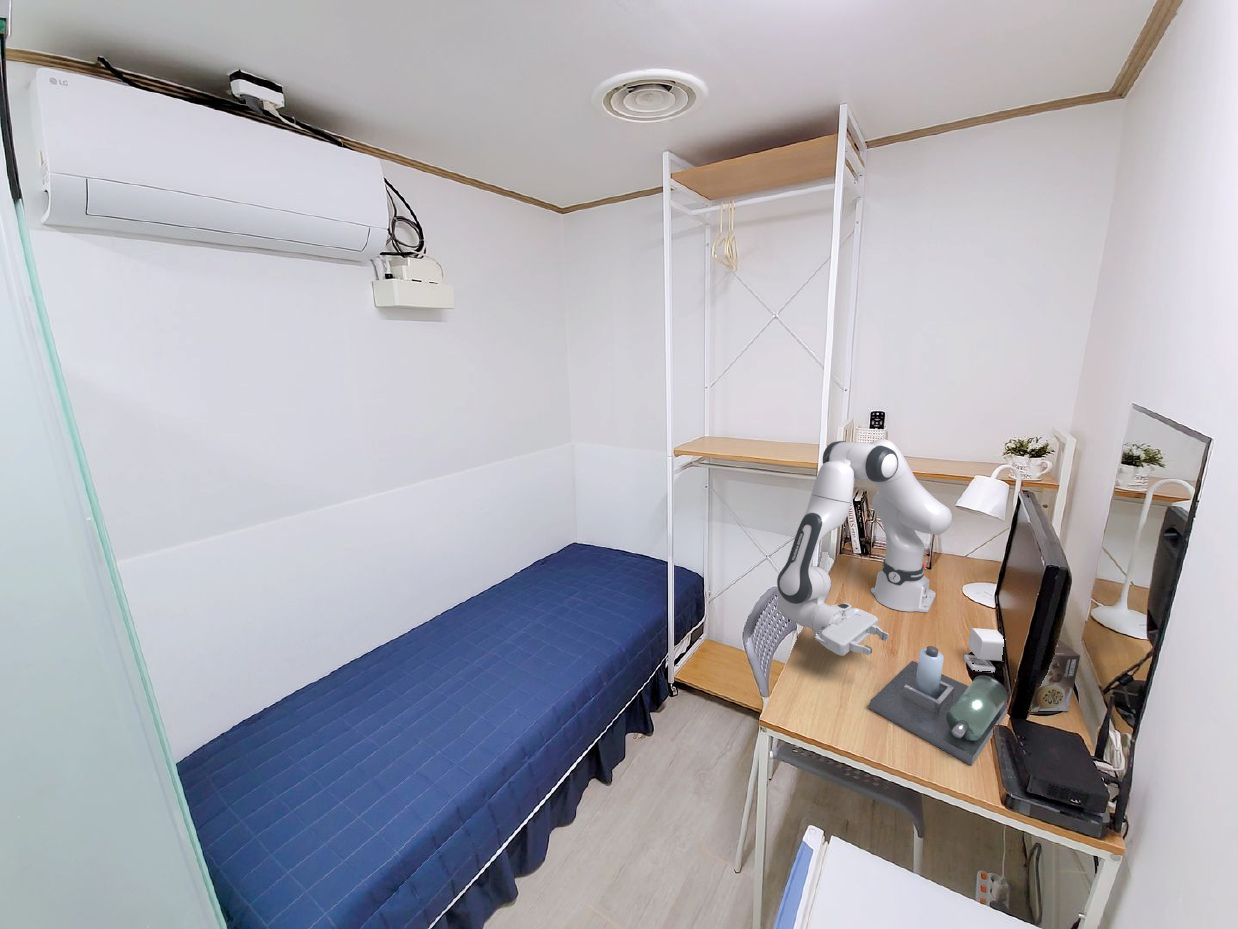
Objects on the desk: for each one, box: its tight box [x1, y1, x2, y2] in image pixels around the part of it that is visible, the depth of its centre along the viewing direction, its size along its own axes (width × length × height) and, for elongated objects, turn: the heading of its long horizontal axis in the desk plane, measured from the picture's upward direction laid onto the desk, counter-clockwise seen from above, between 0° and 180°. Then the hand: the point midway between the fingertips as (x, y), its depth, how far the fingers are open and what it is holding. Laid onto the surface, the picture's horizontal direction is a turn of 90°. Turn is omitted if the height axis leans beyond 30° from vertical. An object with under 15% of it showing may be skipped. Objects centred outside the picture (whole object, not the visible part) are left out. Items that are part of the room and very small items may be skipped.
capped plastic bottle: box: [914, 645, 945, 700], centre depth 122 cm, size 5×5×14 cm
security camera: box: [963, 627, 1004, 673], centre depth 137 cm, size 6×7×10 cm
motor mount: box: [868, 660, 1009, 767], centre depth 121 cm, size 24×22×10 cm
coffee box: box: [1029, 639, 1081, 713], centre depth 122 cm, size 9×6×16 cm
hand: (879, 644), depth 131 cm, fingers open, 8 cm apart
